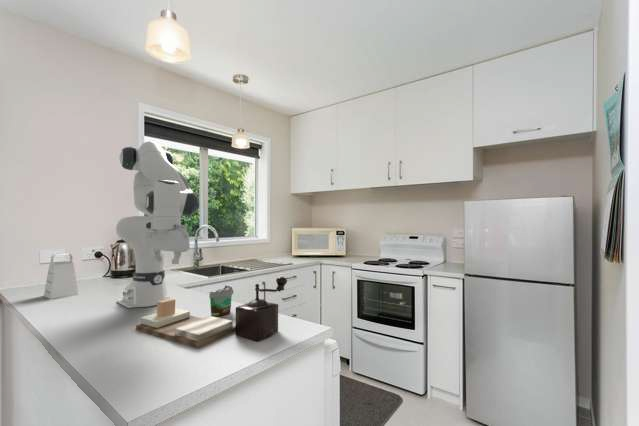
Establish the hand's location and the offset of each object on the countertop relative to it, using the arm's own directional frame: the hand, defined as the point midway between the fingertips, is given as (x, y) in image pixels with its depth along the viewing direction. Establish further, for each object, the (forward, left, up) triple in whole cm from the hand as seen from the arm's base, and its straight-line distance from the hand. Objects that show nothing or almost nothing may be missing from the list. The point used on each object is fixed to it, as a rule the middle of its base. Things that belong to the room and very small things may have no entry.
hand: (166, 262), depth 109 cm
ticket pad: (+11, 0, -22) cm, 25 cm away
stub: (0, 0, -21) cm, 20 cm away
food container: (+9, +19, -22) cm, 31 cm away
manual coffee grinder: (+34, +12, -23) cm, 43 cm away
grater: (-82, +1, -22) cm, 85 cm away
